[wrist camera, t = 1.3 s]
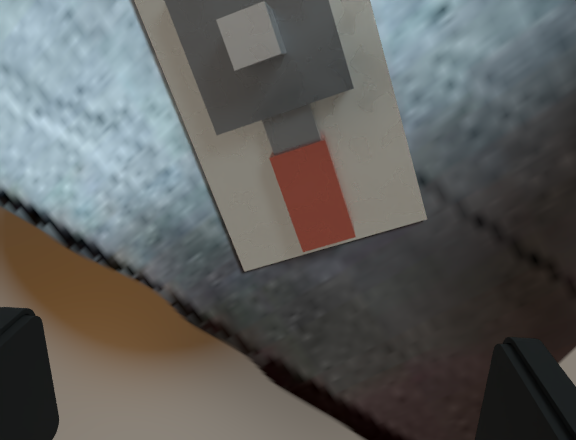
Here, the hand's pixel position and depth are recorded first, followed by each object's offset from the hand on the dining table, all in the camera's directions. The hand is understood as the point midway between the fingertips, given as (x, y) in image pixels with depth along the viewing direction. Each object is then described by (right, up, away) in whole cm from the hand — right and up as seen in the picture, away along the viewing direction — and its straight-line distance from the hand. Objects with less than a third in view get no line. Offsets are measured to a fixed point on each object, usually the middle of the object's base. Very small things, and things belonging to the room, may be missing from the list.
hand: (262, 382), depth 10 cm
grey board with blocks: (0, +11, +22) cm, 25 cm away
